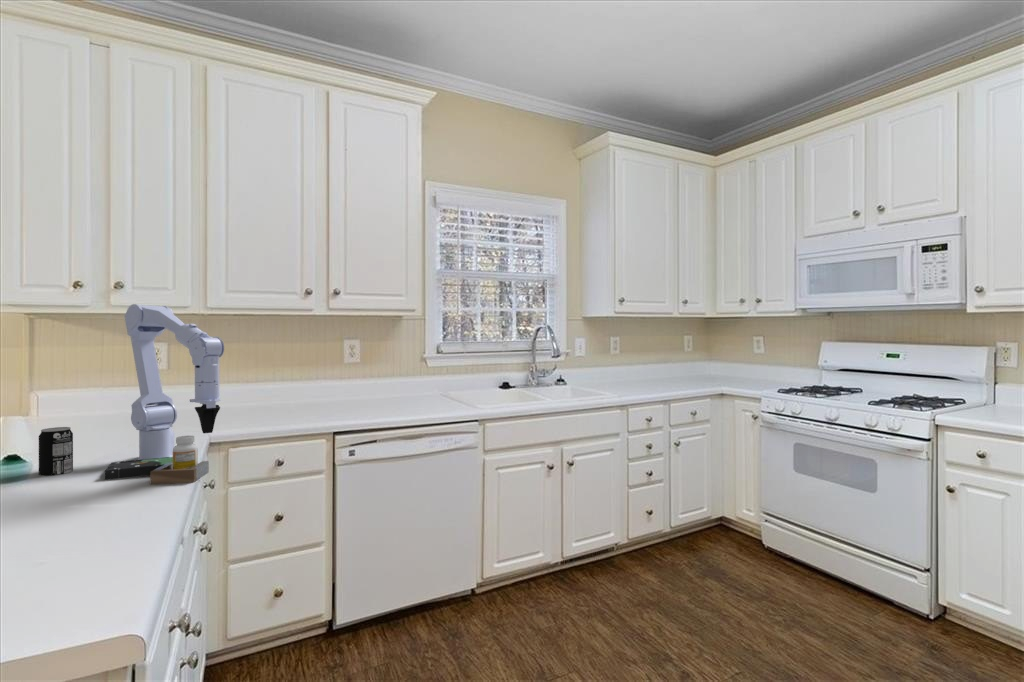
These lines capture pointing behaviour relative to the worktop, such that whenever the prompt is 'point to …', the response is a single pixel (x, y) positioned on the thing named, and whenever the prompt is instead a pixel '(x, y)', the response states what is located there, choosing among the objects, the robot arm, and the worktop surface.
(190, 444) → the supplement bottle
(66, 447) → the beverage can
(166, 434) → the robot arm
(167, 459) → the disk drive
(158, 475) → the wood and metal frame
